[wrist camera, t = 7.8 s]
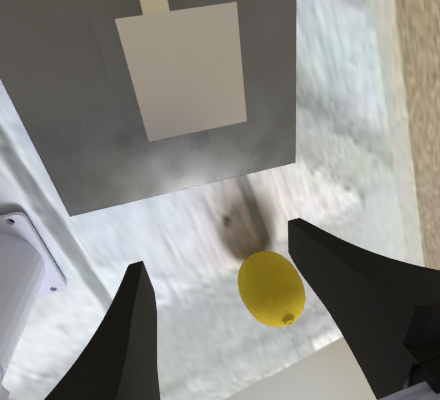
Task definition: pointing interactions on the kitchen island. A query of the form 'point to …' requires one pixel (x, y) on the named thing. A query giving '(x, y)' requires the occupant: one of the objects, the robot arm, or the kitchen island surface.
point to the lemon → (271, 289)
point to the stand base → (128, 105)
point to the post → (185, 68)
